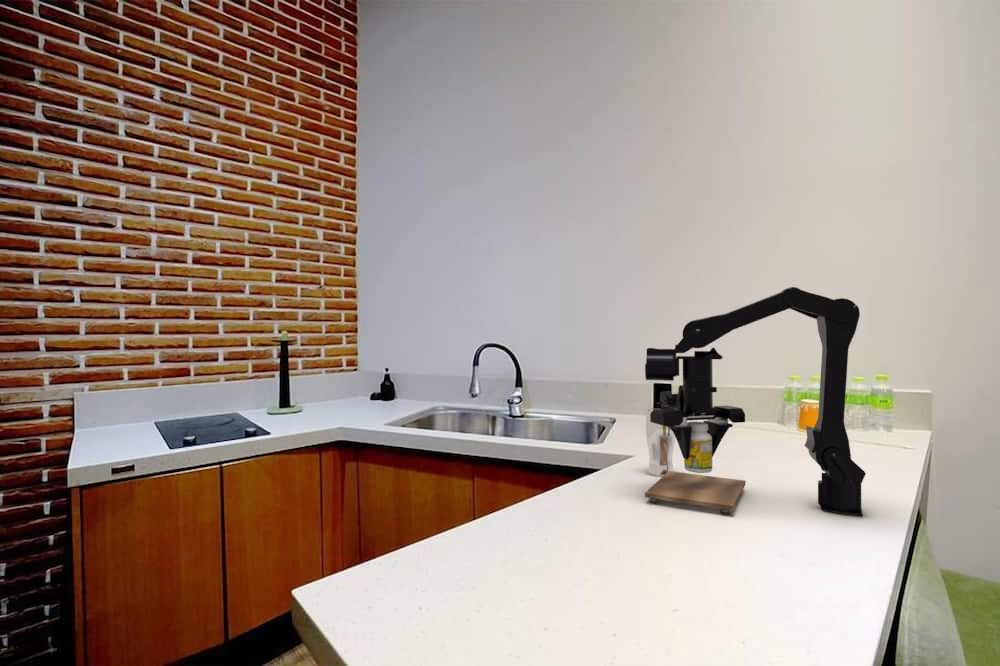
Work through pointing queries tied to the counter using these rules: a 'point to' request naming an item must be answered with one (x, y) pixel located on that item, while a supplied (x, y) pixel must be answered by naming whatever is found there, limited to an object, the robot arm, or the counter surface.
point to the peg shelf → (697, 490)
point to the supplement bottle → (699, 449)
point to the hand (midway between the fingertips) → (698, 457)
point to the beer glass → (659, 447)
